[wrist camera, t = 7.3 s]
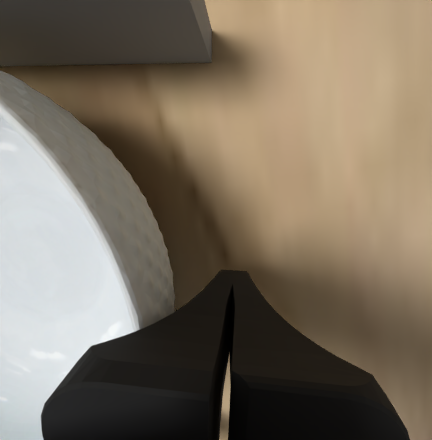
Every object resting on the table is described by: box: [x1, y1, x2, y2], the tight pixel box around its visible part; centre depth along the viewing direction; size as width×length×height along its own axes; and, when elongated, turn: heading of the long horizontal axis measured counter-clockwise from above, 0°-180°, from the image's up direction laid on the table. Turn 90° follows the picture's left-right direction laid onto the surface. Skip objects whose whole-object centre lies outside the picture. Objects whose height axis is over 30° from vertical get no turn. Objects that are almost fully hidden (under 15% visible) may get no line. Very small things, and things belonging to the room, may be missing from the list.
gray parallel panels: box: [0, 0, 212, 66], centre depth 11 cm, size 21×12×5 cm, turn 179°
